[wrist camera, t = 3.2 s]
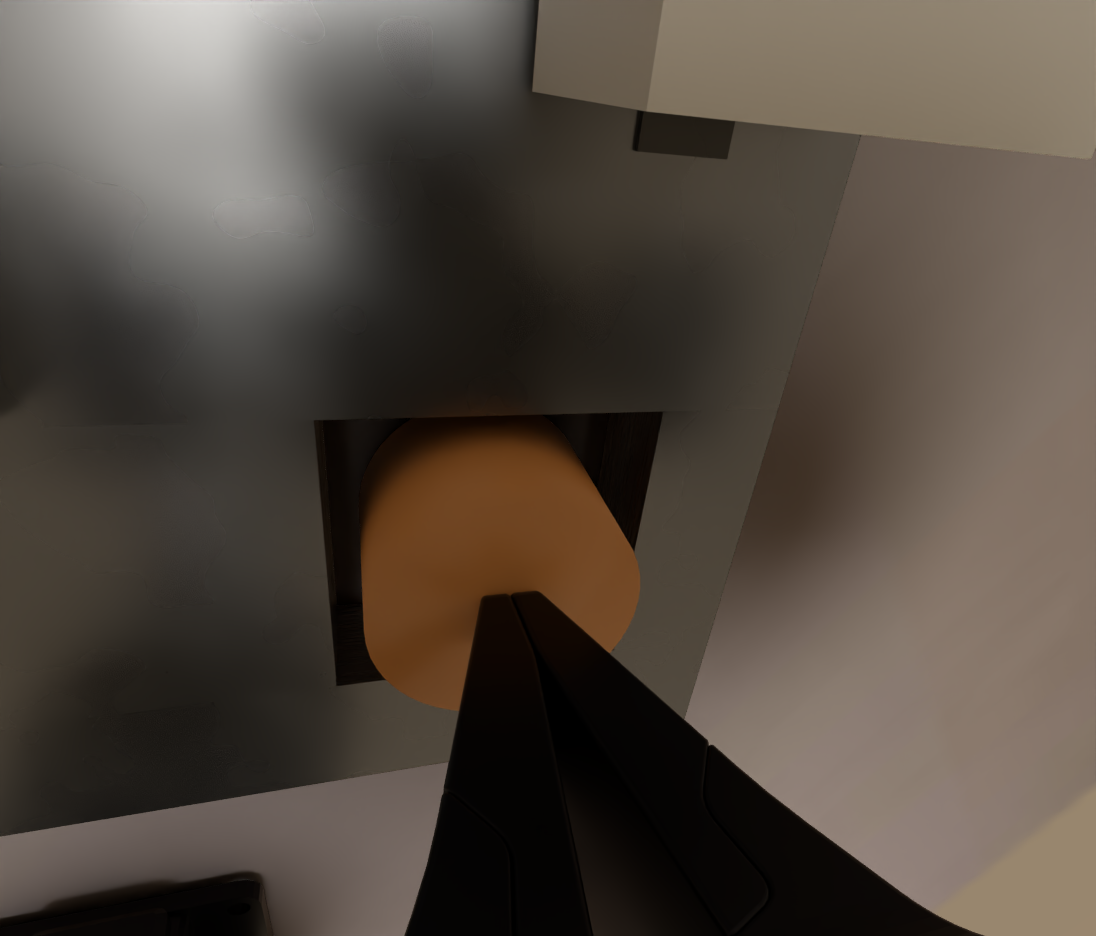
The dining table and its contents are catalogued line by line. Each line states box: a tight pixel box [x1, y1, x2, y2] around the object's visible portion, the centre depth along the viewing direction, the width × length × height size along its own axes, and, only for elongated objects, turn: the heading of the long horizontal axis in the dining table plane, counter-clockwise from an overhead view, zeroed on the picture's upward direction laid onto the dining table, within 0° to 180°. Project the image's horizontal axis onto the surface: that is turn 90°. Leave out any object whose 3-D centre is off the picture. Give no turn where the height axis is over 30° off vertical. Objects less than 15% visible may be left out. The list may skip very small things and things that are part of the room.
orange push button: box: [359, 415, 640, 711], centre depth 11 cm, size 4×4×3 cm
